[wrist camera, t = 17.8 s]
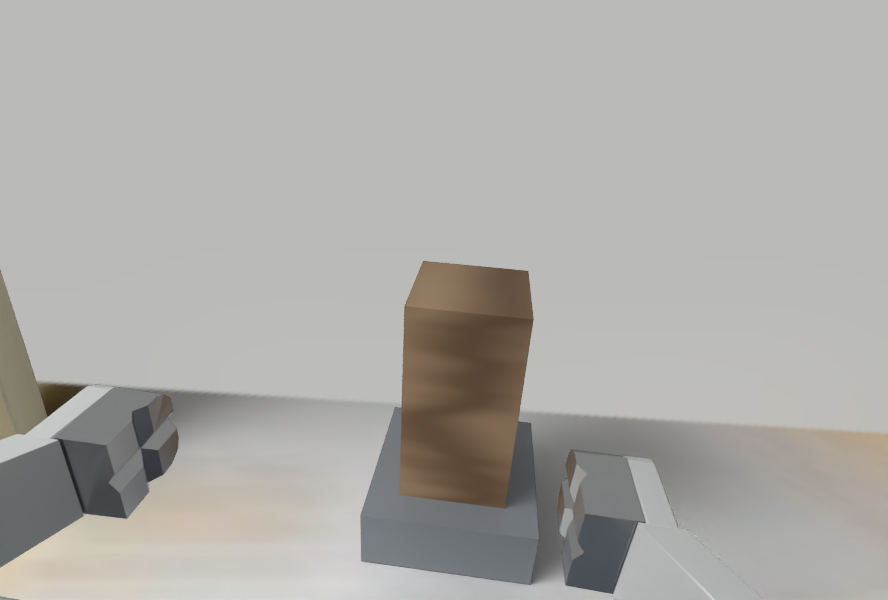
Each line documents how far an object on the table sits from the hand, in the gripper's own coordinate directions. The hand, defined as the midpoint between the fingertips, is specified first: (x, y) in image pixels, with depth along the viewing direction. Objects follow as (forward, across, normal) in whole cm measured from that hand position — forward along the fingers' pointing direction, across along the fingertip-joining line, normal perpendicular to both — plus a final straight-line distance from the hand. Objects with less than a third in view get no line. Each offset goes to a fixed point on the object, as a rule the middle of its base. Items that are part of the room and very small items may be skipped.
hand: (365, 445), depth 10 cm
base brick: (+12, -2, +15) cm, 19 cm away
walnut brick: (+12, -2, +12) cm, 17 cm away
